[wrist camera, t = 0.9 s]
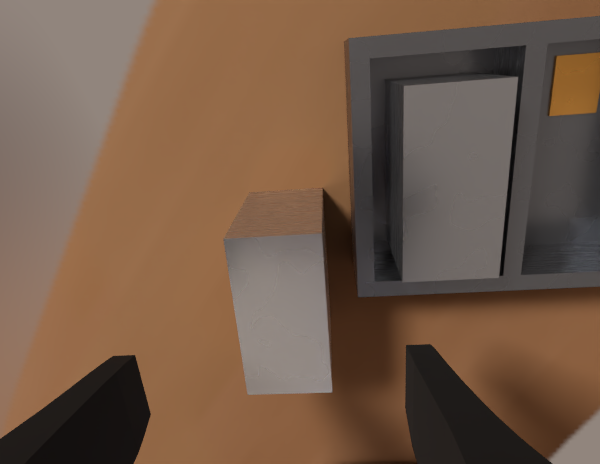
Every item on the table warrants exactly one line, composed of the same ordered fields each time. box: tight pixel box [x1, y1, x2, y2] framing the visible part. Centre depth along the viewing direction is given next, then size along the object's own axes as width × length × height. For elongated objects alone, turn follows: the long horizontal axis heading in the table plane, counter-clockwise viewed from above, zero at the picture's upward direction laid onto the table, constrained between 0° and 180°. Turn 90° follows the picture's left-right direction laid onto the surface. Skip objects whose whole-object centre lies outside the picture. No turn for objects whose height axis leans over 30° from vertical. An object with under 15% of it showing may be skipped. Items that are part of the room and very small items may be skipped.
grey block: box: [224, 188, 332, 395], centre depth 17 cm, size 6×3×5 cm, turn 4°
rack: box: [344, 16, 600, 297], centre depth 15 cm, size 9×11×4 cm
